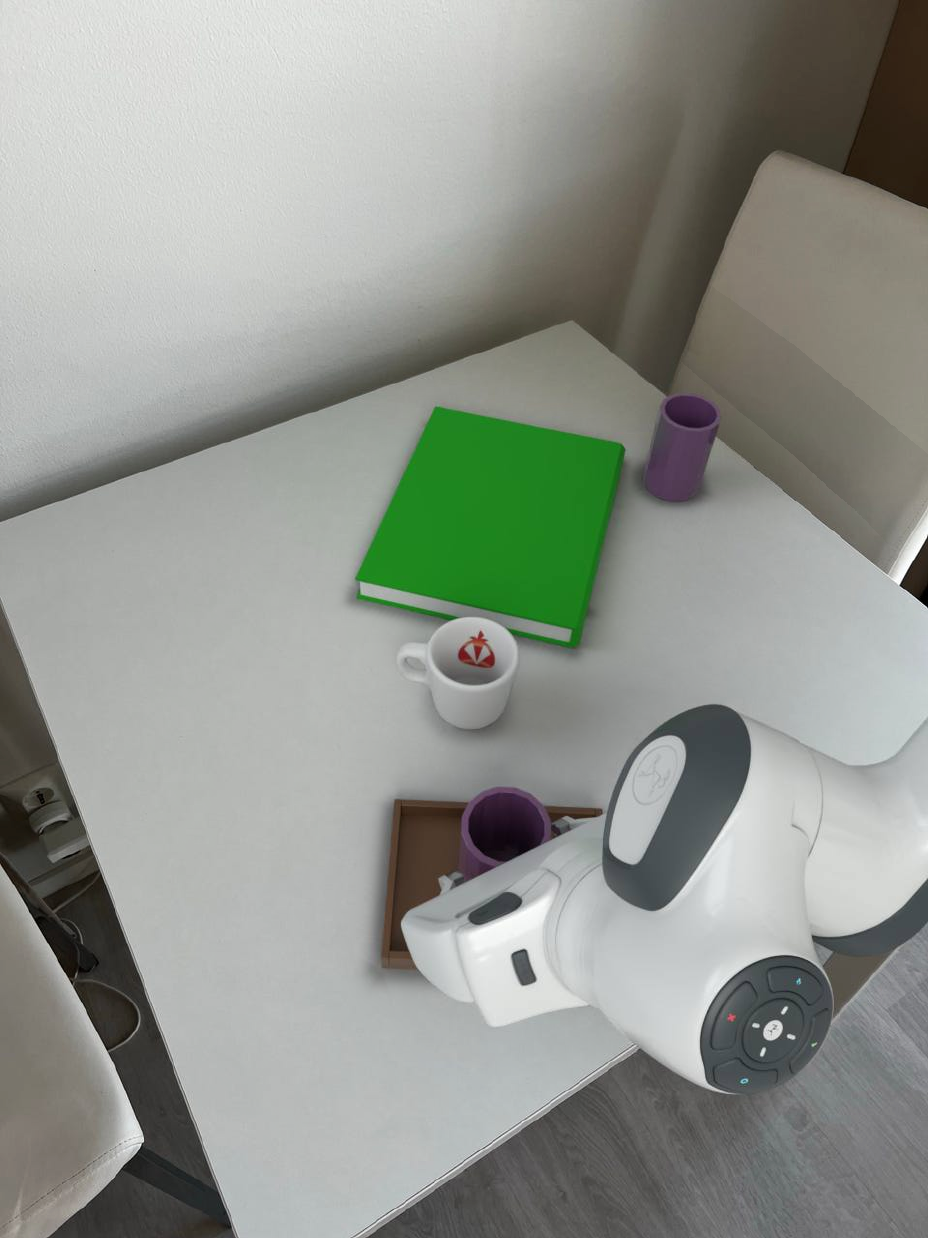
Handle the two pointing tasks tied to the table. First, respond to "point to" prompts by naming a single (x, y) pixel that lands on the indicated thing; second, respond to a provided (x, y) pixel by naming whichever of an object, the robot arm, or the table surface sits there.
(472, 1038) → the table surface
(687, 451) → the tumbler
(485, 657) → the cup
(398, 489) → the book
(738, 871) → the robot arm
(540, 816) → the plum tumbler
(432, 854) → the walnut tray
